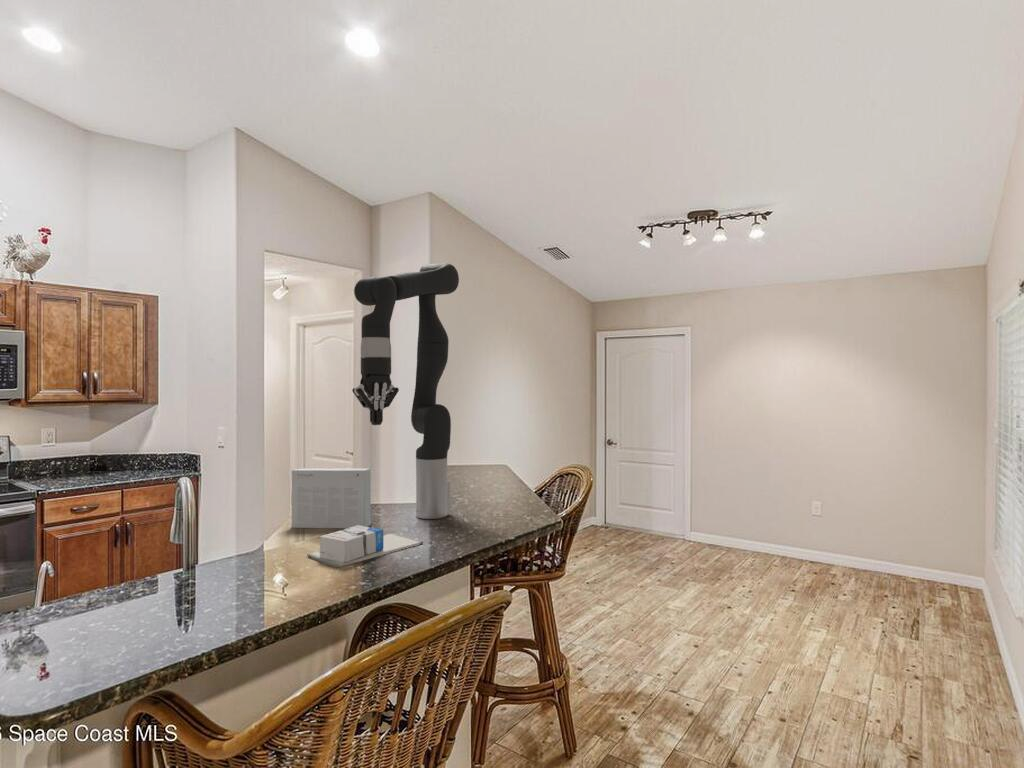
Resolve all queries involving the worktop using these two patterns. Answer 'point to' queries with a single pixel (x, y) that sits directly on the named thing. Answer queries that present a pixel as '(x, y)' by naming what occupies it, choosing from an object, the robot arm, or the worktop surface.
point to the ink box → (351, 543)
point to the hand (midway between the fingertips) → (376, 424)
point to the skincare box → (331, 497)
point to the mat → (390, 545)
